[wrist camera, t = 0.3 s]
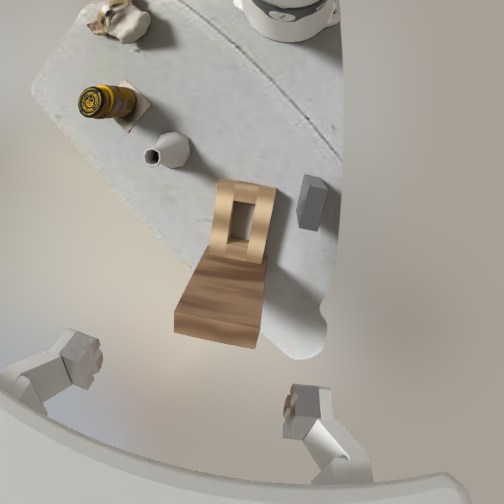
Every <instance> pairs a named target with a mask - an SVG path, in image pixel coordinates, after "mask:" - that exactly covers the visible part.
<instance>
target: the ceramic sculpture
mask: <svg viewBox="0 0 504 504" xmlns="http://www.w3.org/2000/svg"><path fill="white" fill-rule="evenodd" d="M132 4H133V1H132V0H113V1H110V2H108V3H107V4H105V5H104V6H103V7H102V8H101V10H100V11H99V13H98V16H97V20H96V21H94V22H93V23H90V24H87V26H88V27H89V28H90V29H91V30H92V32H93V33H94V34H96V35H99V36H100V35H105V34H110V35H111V36H114V37H117V38H118V39H119V41H120V42H121V43H122V44H130V43H132V42H135V41H136V40H137V39H139V38H140V37H142V36H143V35H144V34H145V33H146V31H147V29H148V27H149V25H150V21H151V17H150V15H149V13H148V12H142V11H140V10H139V9H138V8H137V7H136V6H134V5H132Z"/></svg>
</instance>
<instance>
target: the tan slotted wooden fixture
mask: <svg viewBox="0 0 504 504" xmlns="http://www.w3.org/2000/svg"><path fill="white" fill-rule="evenodd" d="M275 194H276V188H274V187H269V186H264V185H259V184H253V183H248V182H242V181H236V180H231V179H225V178H222V179H221V180H220V181H219V182H218V187H217V195H216V202H215V210H214V217H213V225H212V233H211V241H210V246H207V248H206V250H205V252H204V254H203V256H202V258H201V260H200V262H199V264H198V265H197V267H196V269H195V271H194V273H193V275H192V277H191V279H190V281H189V283H188V285H187V287H186V289H185V291H184V293H183V295H182V297H181V299H180V301H179V303H178V305H177V307H176V309H175V311H174V332H175V333H179V334H183V335H187V336H192V337H196V338H201V339H205V340H210V341H215V342H220V343H224V344H230V345H235V346H240V347H245V348H251V349H255V347H256V342H257V339H258V335H259V331H260V324H261V314H262V305H263V295H264V285H265V274H266V264H267V257H265V256H263V253H264V248H265V243H266V238H267V234H268V229H269V224H270V219H271V214H272V209H273V204H274V199H275ZM235 201H240V202H246V203H251V204H256V206H255V211H254V216H253V222H252V227H251V233H250V238H249V240H244V239H239V238H234V237H229V236H230V229H231V222H232V216H233V209H234V203H235Z"/></svg>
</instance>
